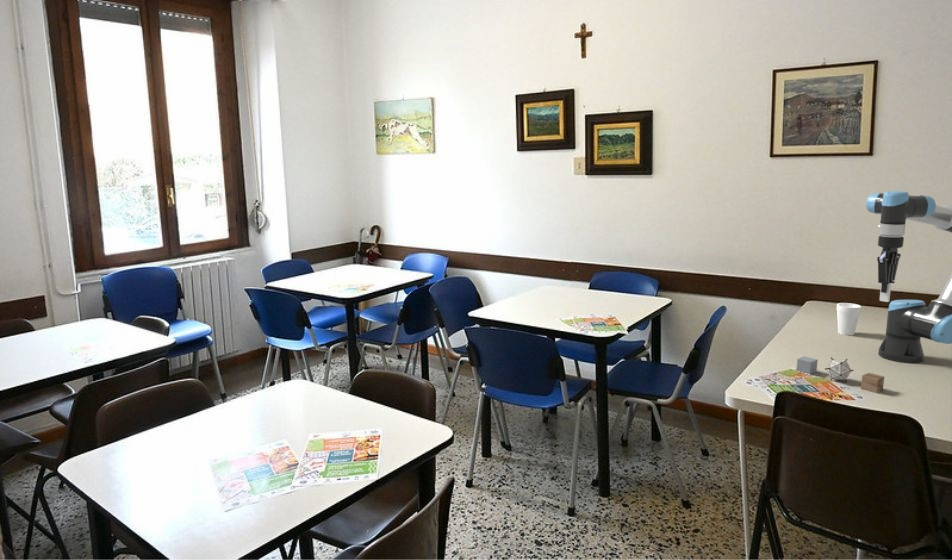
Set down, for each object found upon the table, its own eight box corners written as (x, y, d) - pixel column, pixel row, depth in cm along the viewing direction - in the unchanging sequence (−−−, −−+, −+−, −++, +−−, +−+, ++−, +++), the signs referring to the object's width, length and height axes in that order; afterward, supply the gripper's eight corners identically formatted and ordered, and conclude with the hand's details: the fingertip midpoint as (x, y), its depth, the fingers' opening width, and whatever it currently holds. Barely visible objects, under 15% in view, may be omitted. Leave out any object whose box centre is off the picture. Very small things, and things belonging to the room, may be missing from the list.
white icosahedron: (839, 388, 238) (856, 366, 238) (844, 388, 230) (862, 365, 230) (816, 373, 241) (833, 351, 241) (820, 372, 233) (838, 350, 233)
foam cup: (862, 336, 289) (865, 307, 287) (841, 336, 289) (844, 308, 287) (850, 330, 298) (853, 302, 296) (830, 330, 298) (832, 303, 296)
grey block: (803, 368, 249) (804, 356, 248) (816, 372, 245) (817, 359, 244) (796, 371, 246) (797, 358, 245) (809, 375, 242) (810, 362, 241)
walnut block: (867, 386, 231) (869, 372, 230) (882, 390, 227) (884, 376, 226) (860, 389, 228) (862, 375, 227) (876, 393, 224) (877, 379, 223)
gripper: (888, 232, 237) (881, 296, 242) (871, 236, 230) (864, 302, 234) (911, 234, 231) (903, 300, 236) (894, 238, 224) (887, 305, 228)
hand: (884, 301), depth 235 cm, fingers closed
